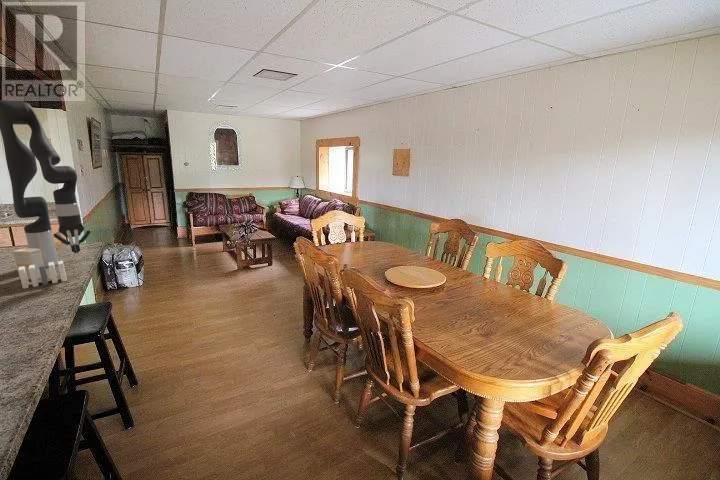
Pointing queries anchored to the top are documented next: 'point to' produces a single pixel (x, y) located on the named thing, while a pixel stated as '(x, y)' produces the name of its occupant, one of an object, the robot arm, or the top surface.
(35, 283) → the ivory domino
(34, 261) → the supplement box
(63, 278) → the ivory domino
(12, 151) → the robot arm
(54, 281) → the ivory domino
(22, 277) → the ivory domino
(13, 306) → the top surface
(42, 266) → the charcoal domino
